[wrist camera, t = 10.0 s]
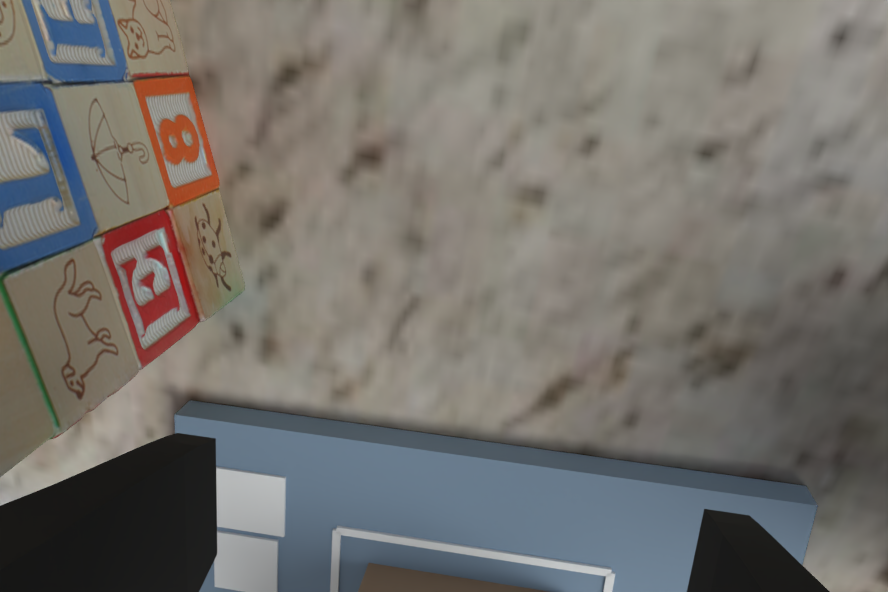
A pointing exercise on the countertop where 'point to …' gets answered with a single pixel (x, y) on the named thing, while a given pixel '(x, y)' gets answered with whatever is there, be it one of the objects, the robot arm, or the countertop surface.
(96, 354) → the stack of blocks
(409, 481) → the blueprint board
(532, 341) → the countertop surface
